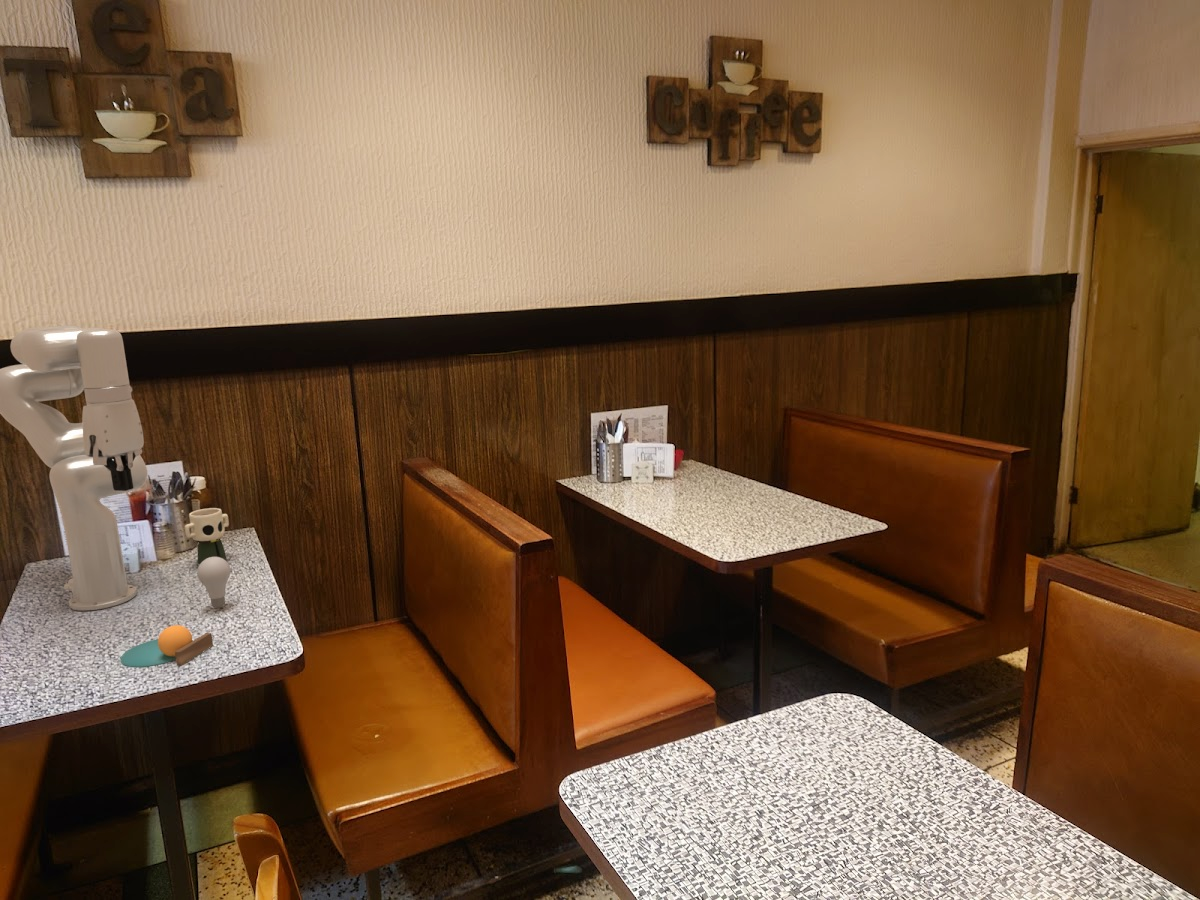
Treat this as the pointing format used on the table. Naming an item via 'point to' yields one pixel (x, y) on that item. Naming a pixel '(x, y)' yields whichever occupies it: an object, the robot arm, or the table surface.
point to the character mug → (208, 532)
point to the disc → (145, 655)
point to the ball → (173, 639)
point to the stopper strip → (193, 649)
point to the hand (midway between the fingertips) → (123, 489)
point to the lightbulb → (214, 579)
